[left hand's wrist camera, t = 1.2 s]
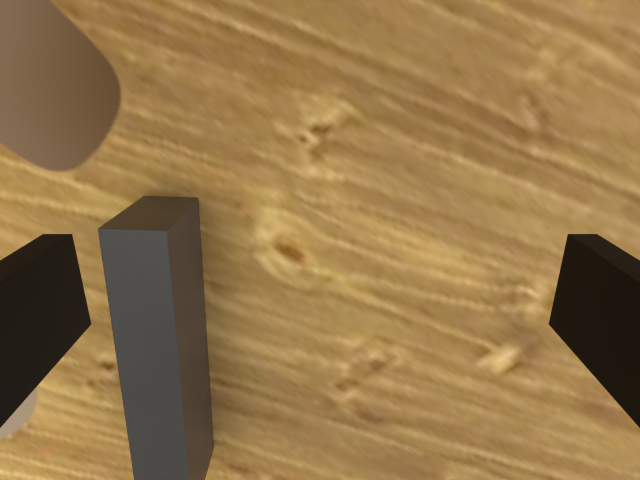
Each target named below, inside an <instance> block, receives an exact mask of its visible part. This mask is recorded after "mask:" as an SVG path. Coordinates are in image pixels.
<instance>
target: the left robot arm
mask: <svg viewBox="0 0 640 480" xmlns="http://www.w3.org/2000/svg"><path fill="white" fill-rule="evenodd" d="M90 325H91V321H90V316H89V311H88V307H87V302H86V297H85V293H84V288H83V283H82V279H81V274H80V269H79V265H78V260H77V255H76V250H75V246H74V241H73V236H72V234H43V235H41V236H39V237H38V238H36V239H34V240H33V241H31V242H30V243H28V244H26V245H25V246H23V247H22V248H20V249H18V250H17V251H15V252H13V253H12V254H10V255H9V256H7V257H5V258H4V259H2V260H0V427H1V426H2V425H3V424H4V423H5V422H6V421H7V420H8V418H9V417H10V416H11V415H12V414H13V413H14V412H15V410H16V409H17V408H18V407H19V406H20V405H21V404H22V402H23V401H24V400H25V399H26V398H27V397H28V396H29V394H30V393H31V392H32V391H33V390H34V389H35V388H36V387H37V385H38V384H39V383H40V382H41V381H42V380H43V379H44V377H45V376H46V375H47V374H48V373H49V372H50V371H51V369H52V368H53V367H54V366H55V365H56V364H57V363H58V361H59V360H60V359H61V358H62V357H63V356H64V355H65V353H66V352H67V351H68V350H69V349H70V348H71V347H72V345H73V344H74V343H75V342H76V341H77V340H78V339H79V338H80V336H81V335H82V334H83V333H84V332H85V331H86V330H87V328H88V327H89V326H90ZM549 325H550V326H551V327H552V328H553V330H554V331H555V332H556V333H557V334H558V335H559V336H560V338H561V339H562V340H563V341H564V342H565V343H566V344H567V345H568V347H569V348H570V349H571V350H572V351H573V352H574V353H575V355H576V356H577V357H578V358H579V359H580V360H581V361H582V363H583V364H584V365H585V366H586V367H587V368H588V369H589V371H590V372H591V373H592V374H593V375H594V376H595V377H596V379H597V380H598V381H599V382H600V383H601V384H602V385H603V387H604V388H605V389H606V390H607V391H608V392H609V393H610V394H611V396H612V397H613V398H614V399H615V400H616V401H617V402H618V404H619V405H620V406H621V407H622V408H623V409H624V410H625V412H626V413H627V414H628V415H629V416H630V417H631V418H632V420H633V421H634V422H635V423H636V424H637V425H638V426H639V428H640V260H638V259H636V258H635V257H633V256H631V255H630V254H628V253H627V252H625V251H623V250H622V249H620V248H618V247H617V246H615V245H614V244H612V243H610V242H609V241H607V240H606V239H604V238H602V237H601V236H599V235H597V234H568V236H567V241H566V246H565V250H564V255H563V260H562V265H561V269H560V274H559V279H558V283H557V288H556V293H555V297H554V302H553V307H552V311H551V316H550V321H549Z"/></svg>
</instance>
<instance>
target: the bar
mask: <svg viewBox="0 0 640 480" xmlns="http://www.w3.org/2000/svg"><path fill="white" fill-rule="evenodd" d="M98 232H99V239H100V246H101V253H102V260H103V267H104V274H105V281H106V288H107V294H108V301H109V308H110V315H111V322H112V329H113V336H114V343H115V350H116V357H117V363H118V370H119V377H120V384H121V391H122V398H123V405H124V412H125V419H126V425H127V432H128V439H129V446H130V453H131V460H132V467H133V474H134V480H205V477H206V474H207V470H208V467H209V463H210V459H211V456H212V452H213V448H214V445H213V429H212V414H211V398H210V382H209V366H208V350H207V334H206V318H205V302H204V286H203V270H202V254H201V238H200V222H199V206H198V198H183V197H150V196H143V197H142V198H141V199H139V200H138V201H136V202H135V203H134V204H132V205H131V206H129V207H128V208H127V209H125V210H124V211H122V212H121V213H119V214H118V215H117V216H115V217H114V218H112V219H111V220H110V221H108V222H107V223H105V224H104V225H103V226H101V227H100V228H98Z"/></svg>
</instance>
